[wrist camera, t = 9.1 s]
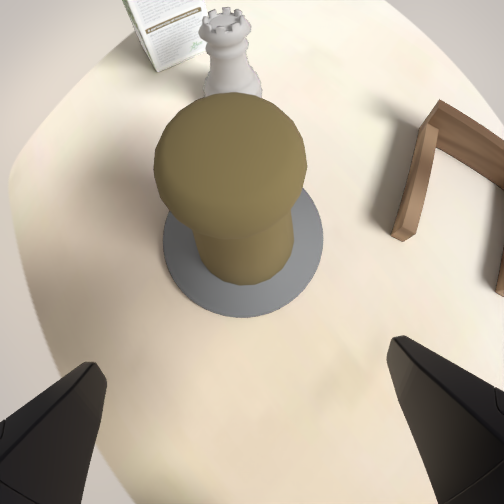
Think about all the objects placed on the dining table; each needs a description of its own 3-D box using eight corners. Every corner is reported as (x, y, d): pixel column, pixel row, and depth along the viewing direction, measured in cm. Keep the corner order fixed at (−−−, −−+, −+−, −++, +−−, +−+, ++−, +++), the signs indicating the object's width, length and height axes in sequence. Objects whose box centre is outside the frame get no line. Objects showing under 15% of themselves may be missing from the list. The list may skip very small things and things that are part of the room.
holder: (503, 296, 19) (536, 289, 15) (390, 235, 20) (415, 216, 16) (516, 190, 20) (543, 172, 17) (419, 128, 22) (439, 99, 18)
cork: (289, 290, 19) (324, 245, 8) (189, 280, 19) (106, 225, 9) (297, 195, 20) (326, 73, 9) (203, 187, 21) (155, 68, 10)
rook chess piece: (220, 127, 22) (203, 48, 14) (196, 91, 23) (175, 15, 15) (273, 104, 23) (275, 23, 15) (245, 70, 23) (239, -7, 16)
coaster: (307, 331, 19) (308, 331, 18) (149, 298, 20) (146, 297, 19) (330, 180, 21) (331, 177, 20) (187, 157, 22) (185, 154, 21)
